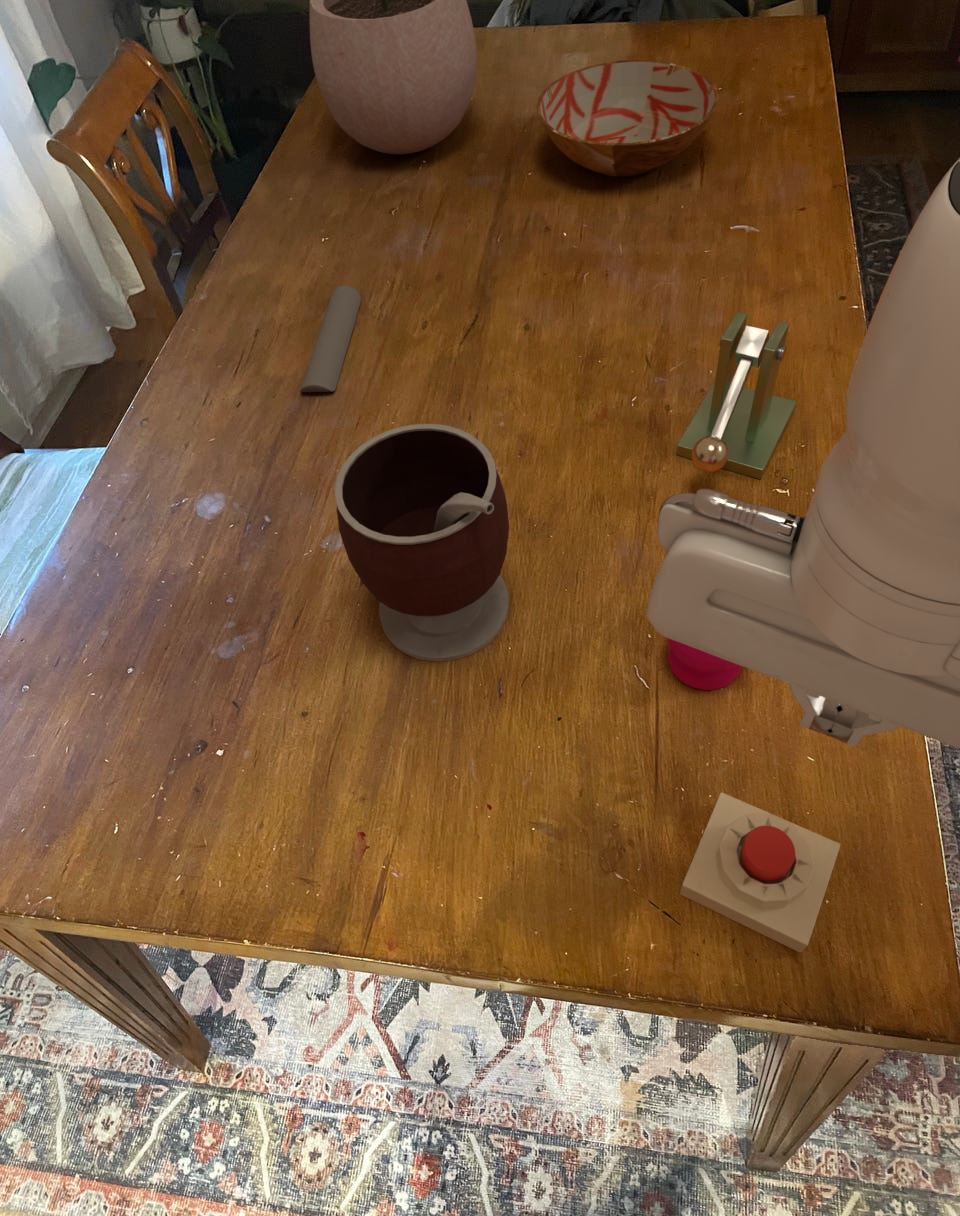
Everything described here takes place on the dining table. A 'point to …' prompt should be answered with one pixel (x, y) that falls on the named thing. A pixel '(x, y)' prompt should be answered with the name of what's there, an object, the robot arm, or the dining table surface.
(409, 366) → the dining table surface
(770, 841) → the button
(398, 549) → the mate gourd
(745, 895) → the box
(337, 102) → the plant pot
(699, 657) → the pepper mill
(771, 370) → the bracket
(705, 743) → the dining table surface
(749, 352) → the lever
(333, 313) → the gray half cylinder
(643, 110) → the bowl
